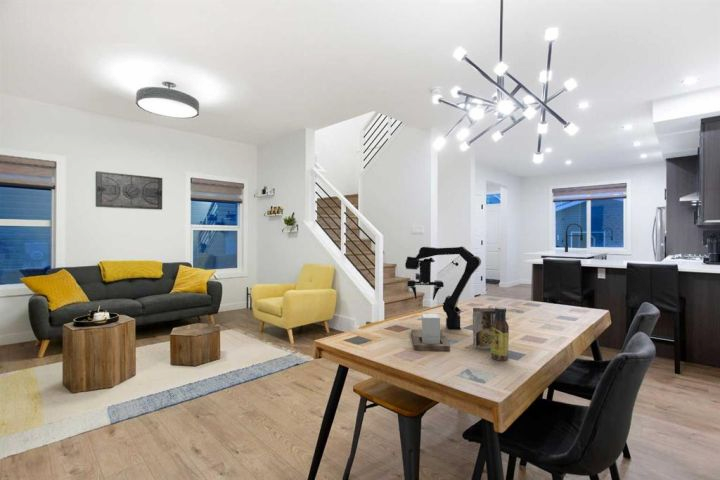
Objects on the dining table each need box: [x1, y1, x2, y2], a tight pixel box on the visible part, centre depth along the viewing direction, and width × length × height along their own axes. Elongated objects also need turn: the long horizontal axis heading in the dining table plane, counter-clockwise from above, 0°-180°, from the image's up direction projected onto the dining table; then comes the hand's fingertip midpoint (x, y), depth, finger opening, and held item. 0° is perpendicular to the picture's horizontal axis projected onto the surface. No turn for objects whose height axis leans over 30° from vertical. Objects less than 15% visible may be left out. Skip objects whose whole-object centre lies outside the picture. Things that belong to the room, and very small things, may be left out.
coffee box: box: [472, 307, 495, 350], centre depth 152 cm, size 9×6×16 cm
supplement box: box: [421, 313, 441, 344], centre depth 155 cm, size 7×7×13 cm
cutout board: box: [410, 329, 451, 352], centre depth 159 cm, size 14×24×2 cm, turn 175°
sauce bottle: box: [490, 306, 510, 361], centre depth 138 cm, size 6×6×20 cm
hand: (424, 299), depth 190 cm, fingers open, 9 cm apart
